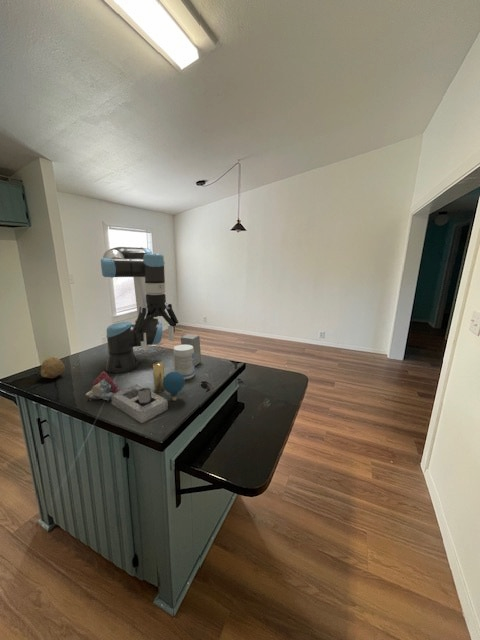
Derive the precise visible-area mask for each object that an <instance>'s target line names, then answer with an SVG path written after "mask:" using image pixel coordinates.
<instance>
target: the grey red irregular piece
mask: <svg viewBox="0 0 480 640" xmlns="http://www.w3.org/2000/svg"><path fill="white" fill-rule="evenodd" d="M92 385H93V386H92V387H91V390H89V391H88V392H87V393H85V396H86V397H88V398H92V400H94V399H103V400H102V401H105V400H107V401H106V402H108V401H109V400H110V401H112V400H111V394H114V393H116V392H119V391H121V388H119V387H118V384H117V382H115V381H113V380H112V378H111V377H110V376H109V375H108V373H107V371H102V372H100V374H99V375H98V376H97V377H96V378H95V379H94V381H93V382H92ZM110 401H109V402H110Z"/></svg>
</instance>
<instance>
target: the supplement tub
mask: <svg viewBox="0 0 480 640" xmlns="http://www.w3.org/2000/svg"><path fill="white" fill-rule="evenodd" d="M173 367H174V368H173V372H178V373H180V374H181V375H182V376H183V377H184V380H188V379H192V378H193V377H194V376H195V366H194V349H193V346H192V345H181V344H178V345H175V346H174V347H173Z"/></svg>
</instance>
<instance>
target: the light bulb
mask: <svg viewBox="0 0 480 640" xmlns="http://www.w3.org/2000/svg"><path fill="white" fill-rule="evenodd" d="M185 383H186V382H185V379H184V377H183V376H182V375H181V374H180V373H178V372H174V371H171V372H168V373H167V374H166V375H164V379H163V387H164V389H165V390H164V391H166V392H167V393H169V394H170V396H171V400H172V401H177V400H178V397H177V396H178V393H179V392H181V391H182V390H183V388H184V387H185Z"/></svg>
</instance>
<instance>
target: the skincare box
mask: <svg viewBox="0 0 480 640" xmlns="http://www.w3.org/2000/svg"><path fill="white" fill-rule="evenodd" d="M200 338H201V337H200V335H199V334H198V335H197V334H189V333H187V334H184V335H183V336H181V337H180V345H192V346H193V349H194V367H195V366H197V365H199V364H201V363H202V356H201V355H202V354H201V341H200Z"/></svg>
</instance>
